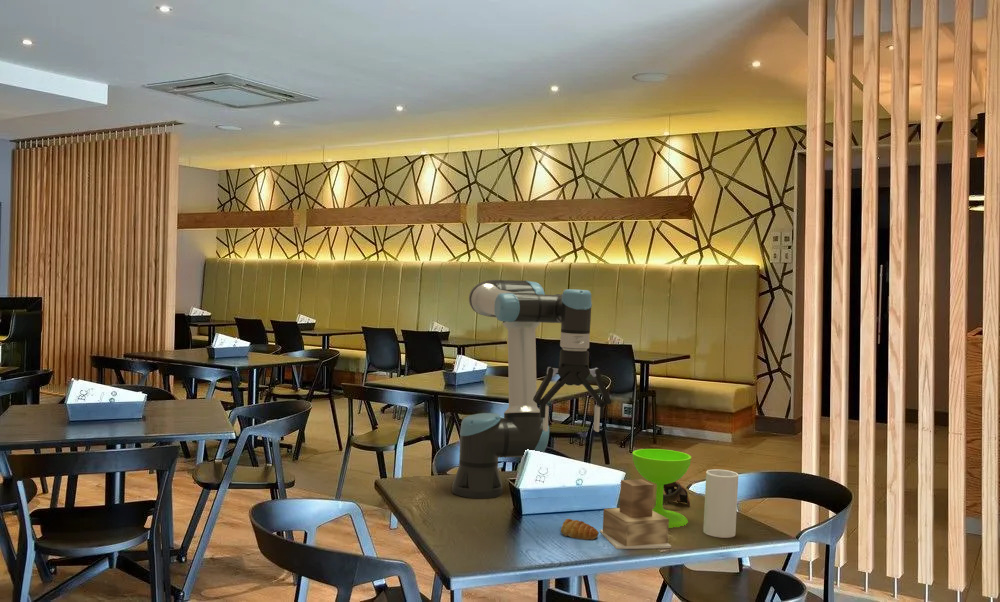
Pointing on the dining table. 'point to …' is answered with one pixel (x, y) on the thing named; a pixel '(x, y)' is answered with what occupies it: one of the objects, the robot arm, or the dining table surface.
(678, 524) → the wineglass
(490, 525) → the dining table surface
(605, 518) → the cover
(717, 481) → the cup
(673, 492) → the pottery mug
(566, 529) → the pastry
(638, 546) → the tile
